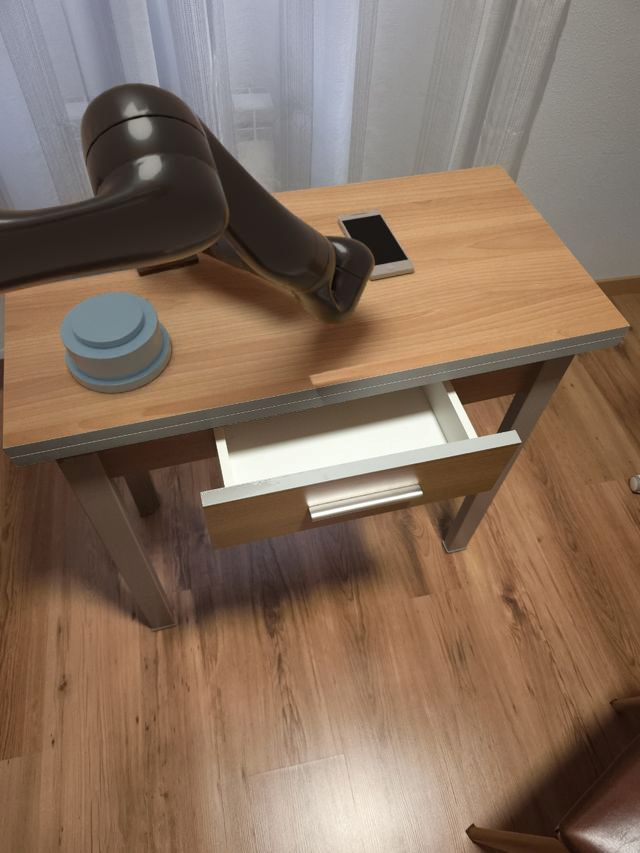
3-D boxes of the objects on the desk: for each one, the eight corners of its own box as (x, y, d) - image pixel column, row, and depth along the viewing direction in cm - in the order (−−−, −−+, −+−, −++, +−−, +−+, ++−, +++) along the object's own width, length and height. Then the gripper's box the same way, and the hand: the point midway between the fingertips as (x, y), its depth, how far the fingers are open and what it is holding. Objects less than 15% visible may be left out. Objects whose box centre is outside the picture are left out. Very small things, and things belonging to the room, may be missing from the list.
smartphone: (369, 280, 84) (370, 275, 83) (336, 220, 92) (337, 215, 91) (414, 272, 85) (415, 267, 84) (377, 213, 94) (378, 208, 93)
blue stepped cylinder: (77, 405, 69) (58, 369, 63) (62, 333, 76) (44, 295, 70) (182, 376, 72) (173, 339, 67) (158, 310, 79) (148, 271, 74)
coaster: (139, 276, 83) (138, 272, 82) (127, 240, 88) (125, 236, 87) (199, 262, 85) (198, 258, 84) (184, 228, 90) (183, 224, 89)
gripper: (261, 183, 76) (168, 146, 80) (192, 237, 68) (93, 193, 73) (264, 232, 82) (177, 194, 86) (200, 286, 74) (109, 242, 79)
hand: (139, 194), depth 80 cm, fingers open, 7 cm apart
